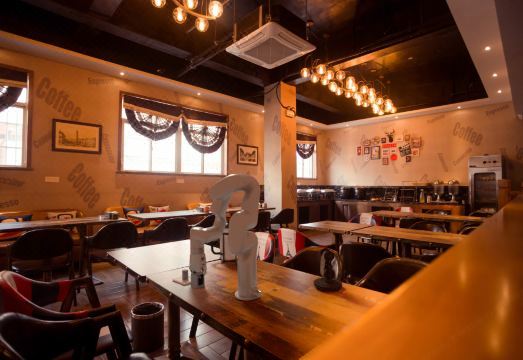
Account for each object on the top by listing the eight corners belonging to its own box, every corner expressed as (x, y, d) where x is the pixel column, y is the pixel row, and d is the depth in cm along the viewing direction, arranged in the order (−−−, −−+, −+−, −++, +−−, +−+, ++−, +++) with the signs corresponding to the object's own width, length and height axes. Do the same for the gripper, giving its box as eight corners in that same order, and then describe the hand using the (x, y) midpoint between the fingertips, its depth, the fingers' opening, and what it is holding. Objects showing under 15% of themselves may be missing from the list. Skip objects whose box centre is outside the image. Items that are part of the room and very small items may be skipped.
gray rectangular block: (204, 285, 153) (204, 273, 153) (196, 288, 149) (196, 276, 149) (198, 283, 156) (198, 271, 157) (190, 286, 153) (190, 274, 153)
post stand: (198, 281, 160) (197, 270, 160) (184, 285, 153) (184, 274, 154) (186, 276, 168) (186, 266, 168) (172, 280, 161) (172, 270, 161)
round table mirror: (310, 282, 155) (310, 246, 155) (336, 281, 156) (336, 245, 156) (317, 293, 141) (317, 253, 141) (346, 292, 142) (345, 252, 142)
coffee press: (225, 256, 213) (225, 216, 213) (243, 259, 205) (242, 218, 205) (210, 262, 198) (209, 219, 198) (228, 265, 190) (227, 221, 190)
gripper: (212, 251, 150) (213, 285, 150) (193, 246, 161) (194, 278, 161) (201, 254, 145) (201, 289, 144) (182, 249, 156) (182, 281, 156)
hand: (197, 283), depth 153 cm, fingers closed on gray rectangular block, 5 cm apart
